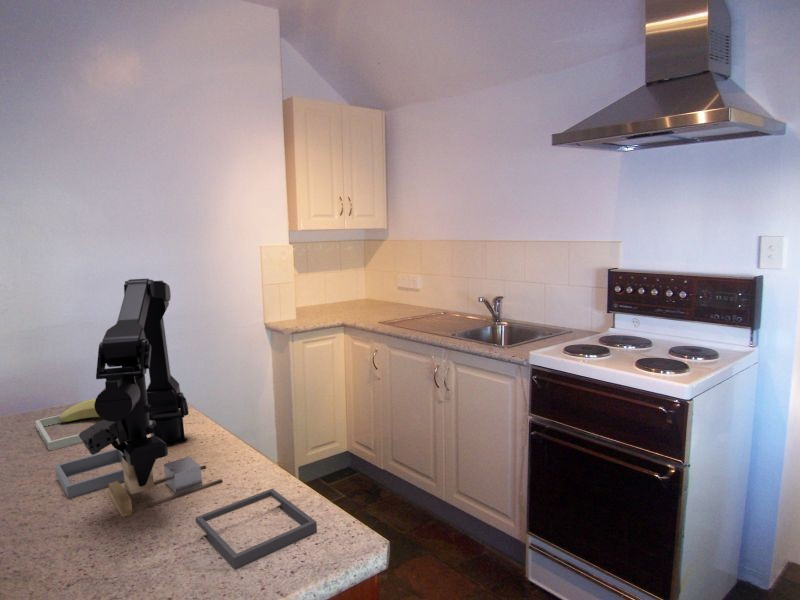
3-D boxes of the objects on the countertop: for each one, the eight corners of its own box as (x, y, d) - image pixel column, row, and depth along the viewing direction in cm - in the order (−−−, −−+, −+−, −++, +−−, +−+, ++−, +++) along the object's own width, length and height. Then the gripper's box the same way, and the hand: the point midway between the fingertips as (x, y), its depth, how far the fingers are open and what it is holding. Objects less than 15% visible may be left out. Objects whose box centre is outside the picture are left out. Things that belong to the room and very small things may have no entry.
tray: (122, 462, 123) (120, 447, 123) (139, 482, 114) (137, 466, 113) (56, 481, 115) (54, 465, 115) (69, 504, 106) (66, 487, 105)
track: (205, 472, 117) (203, 454, 117) (223, 487, 110) (221, 468, 110) (94, 508, 104) (92, 488, 103) (106, 528, 97) (104, 507, 96)
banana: (105, 384, 155) (136, 408, 142) (112, 401, 157) (143, 425, 144) (53, 409, 146) (81, 437, 133) (61, 426, 149) (89, 455, 136)
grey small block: (191, 474, 114) (189, 456, 113) (202, 485, 109) (200, 466, 108) (165, 483, 110) (163, 464, 110) (176, 494, 106) (174, 474, 105)
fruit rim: (140, 403, 161) (139, 397, 161) (162, 421, 147) (161, 414, 146) (36, 427, 145) (35, 420, 145) (49, 450, 130) (48, 442, 130)
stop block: (147, 479, 107) (144, 450, 106) (154, 487, 104) (150, 456, 103) (125, 486, 104) (121, 456, 103) (131, 494, 101) (127, 463, 100)
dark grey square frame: (273, 498, 106) (272, 488, 105) (317, 532, 94) (316, 521, 94) (196, 527, 96) (195, 517, 96) (234, 570, 85) (233, 558, 84)
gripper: (69, 400, 103) (79, 478, 106) (93, 427, 89) (104, 517, 92) (133, 386, 111) (141, 460, 113) (164, 410, 96) (172, 494, 99)
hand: (139, 481), depth 104 cm, fingers closed on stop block, 4 cm apart
